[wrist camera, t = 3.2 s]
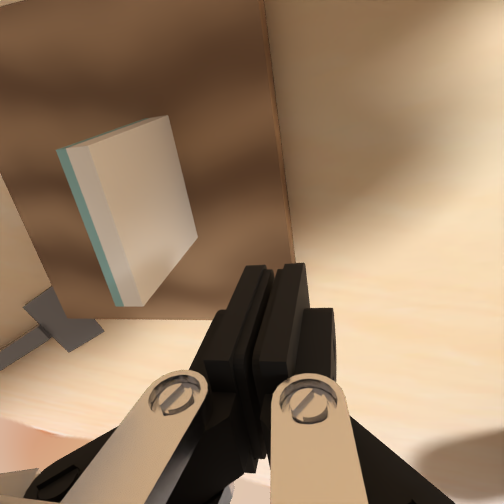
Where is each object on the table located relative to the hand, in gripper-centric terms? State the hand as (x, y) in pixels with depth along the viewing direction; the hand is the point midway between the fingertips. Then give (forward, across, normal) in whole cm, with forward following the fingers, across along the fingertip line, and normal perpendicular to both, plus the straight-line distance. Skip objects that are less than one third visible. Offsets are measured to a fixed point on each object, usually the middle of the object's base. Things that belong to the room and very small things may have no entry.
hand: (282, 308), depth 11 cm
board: (+15, +12, -1) cm, 19 cm away
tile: (+13, +9, -1) cm, 16 cm away
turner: (+15, +28, +13) cm, 35 cm away
